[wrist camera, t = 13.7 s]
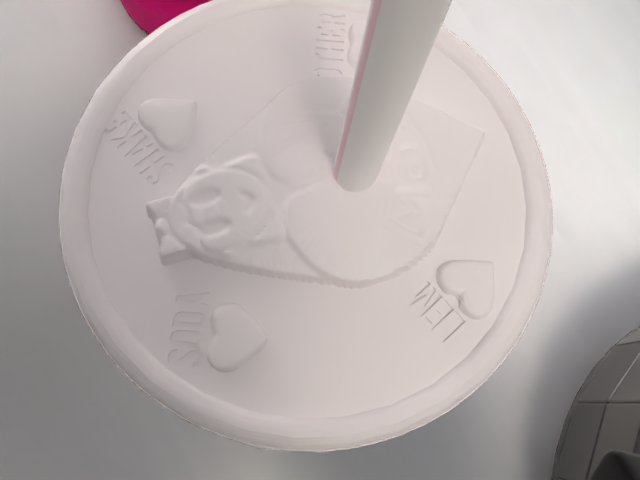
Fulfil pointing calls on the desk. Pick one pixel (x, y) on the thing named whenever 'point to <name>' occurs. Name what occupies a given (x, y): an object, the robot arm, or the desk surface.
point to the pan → (603, 413)
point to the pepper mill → (157, 11)
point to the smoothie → (306, 219)
